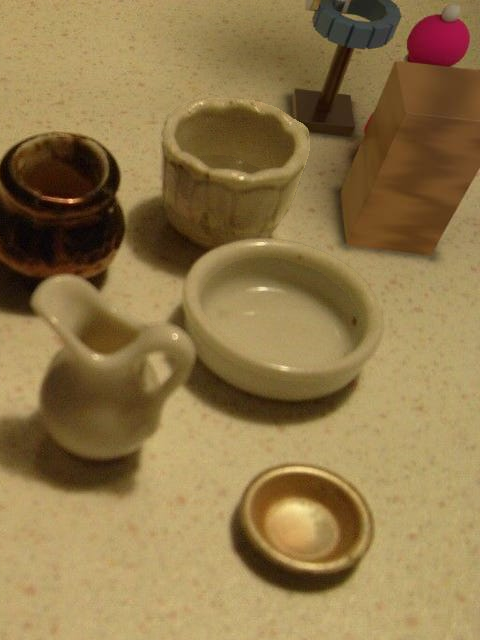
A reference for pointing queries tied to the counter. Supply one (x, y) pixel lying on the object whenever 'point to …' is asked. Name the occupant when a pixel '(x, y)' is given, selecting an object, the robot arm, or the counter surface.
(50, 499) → the counter surface
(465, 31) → the pepper mill
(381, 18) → the ring
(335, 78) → the stand
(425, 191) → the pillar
